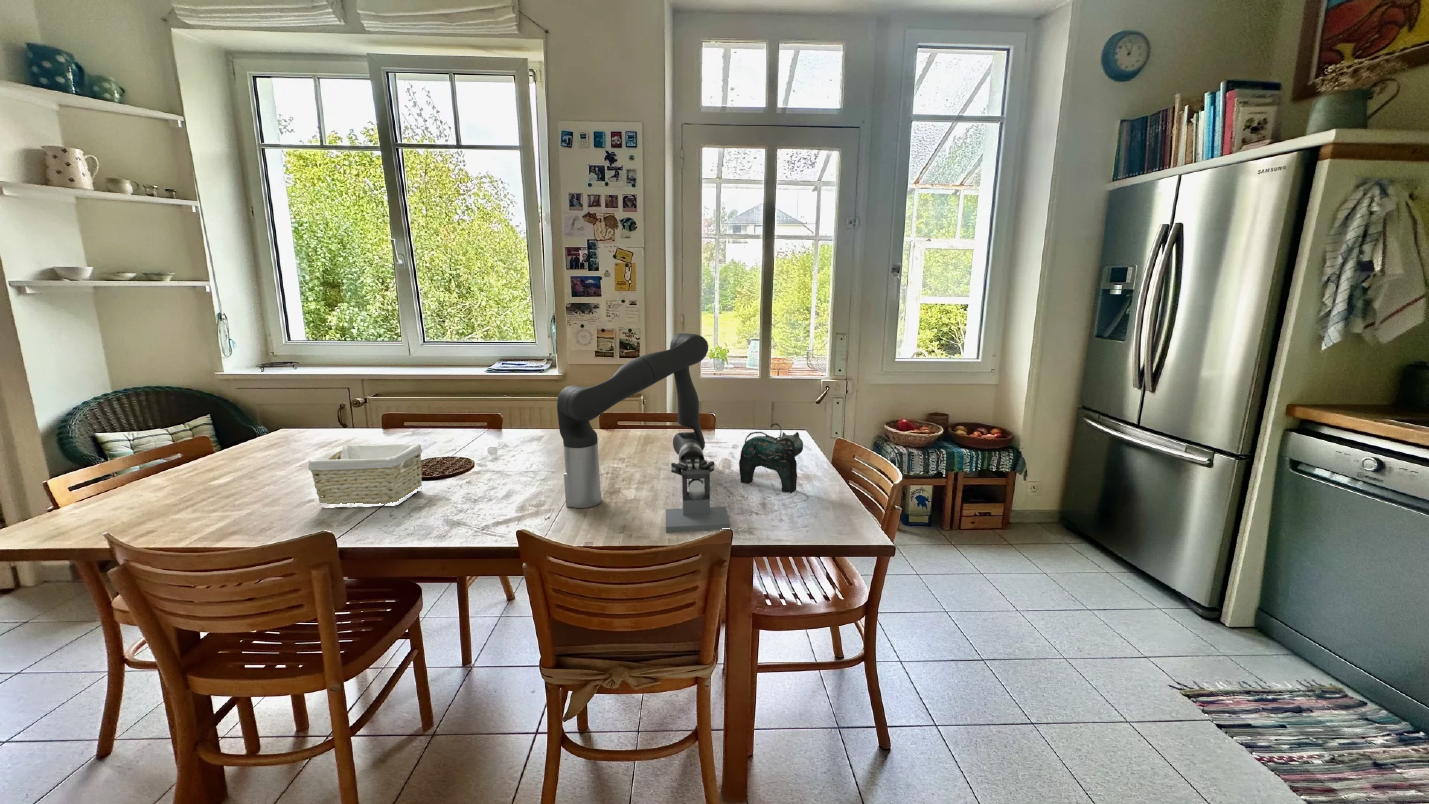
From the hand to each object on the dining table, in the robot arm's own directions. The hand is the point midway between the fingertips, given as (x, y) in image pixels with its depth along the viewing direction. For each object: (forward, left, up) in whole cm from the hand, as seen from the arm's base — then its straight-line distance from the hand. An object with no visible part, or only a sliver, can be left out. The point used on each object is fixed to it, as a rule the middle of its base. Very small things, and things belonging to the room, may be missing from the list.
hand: (694, 477), depth 146 cm
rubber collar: (0, -6, -4) cm, 7 cm away
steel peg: (0, -6, -2) cm, 6 cm away
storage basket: (-93, +18, -9) cm, 95 cm away
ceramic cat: (+23, +14, -9) cm, 28 cm away
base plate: (0, -9, -9) cm, 12 cm away
